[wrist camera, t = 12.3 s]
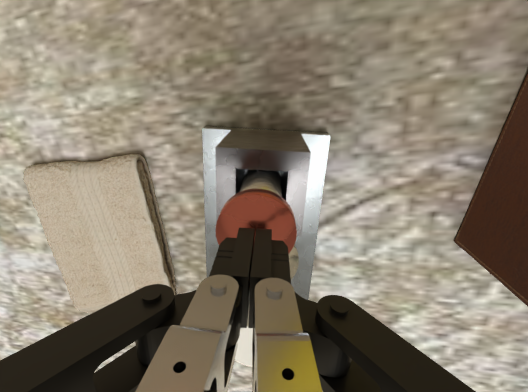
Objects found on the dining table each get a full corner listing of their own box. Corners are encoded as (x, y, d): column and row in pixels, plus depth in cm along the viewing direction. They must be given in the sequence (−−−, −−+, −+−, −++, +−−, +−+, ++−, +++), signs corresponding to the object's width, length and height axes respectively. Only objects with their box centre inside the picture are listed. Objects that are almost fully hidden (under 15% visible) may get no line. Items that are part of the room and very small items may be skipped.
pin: (236, 153, 21) (214, 193, 13) (291, 156, 21) (300, 198, 13) (235, 204, 22) (216, 265, 15) (286, 207, 22) (292, 269, 15)
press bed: (206, 125, 26) (175, 144, 18) (327, 132, 26) (351, 154, 18) (210, 286, 32) (189, 351, 25) (306, 292, 32) (316, 360, 24)
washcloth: (90, 303, 35) (74, 323, 32) (31, 161, 28) (3, 169, 25) (185, 297, 34) (177, 317, 31) (147, 149, 27) (131, 157, 24)
